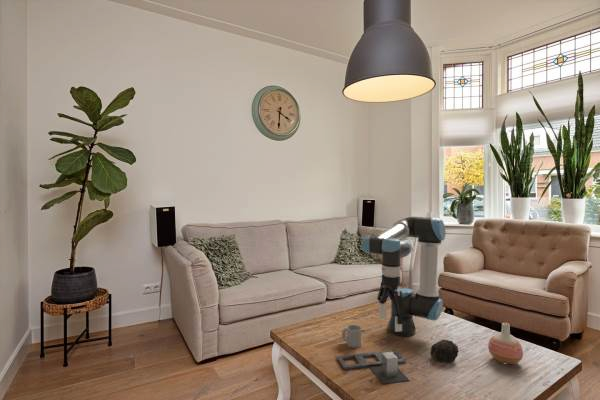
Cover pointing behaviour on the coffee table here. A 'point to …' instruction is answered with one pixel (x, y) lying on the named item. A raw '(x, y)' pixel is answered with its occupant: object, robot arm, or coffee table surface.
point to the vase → (505, 346)
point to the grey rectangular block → (389, 364)
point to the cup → (352, 336)
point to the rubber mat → (388, 380)
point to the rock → (444, 351)
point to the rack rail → (362, 361)
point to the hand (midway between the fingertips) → (390, 324)
